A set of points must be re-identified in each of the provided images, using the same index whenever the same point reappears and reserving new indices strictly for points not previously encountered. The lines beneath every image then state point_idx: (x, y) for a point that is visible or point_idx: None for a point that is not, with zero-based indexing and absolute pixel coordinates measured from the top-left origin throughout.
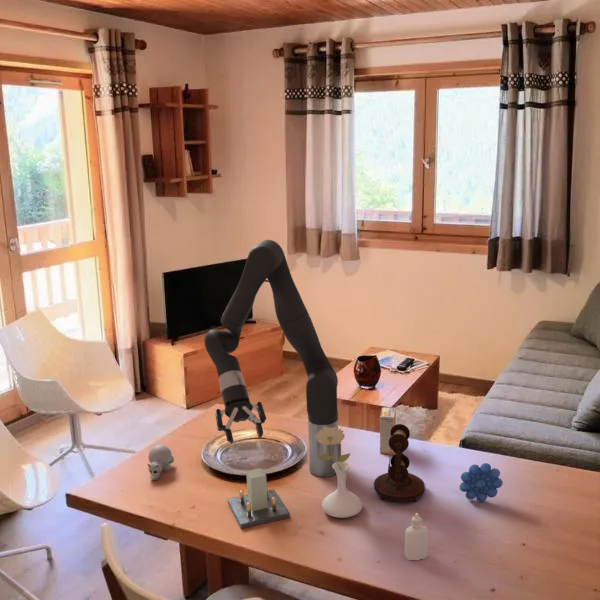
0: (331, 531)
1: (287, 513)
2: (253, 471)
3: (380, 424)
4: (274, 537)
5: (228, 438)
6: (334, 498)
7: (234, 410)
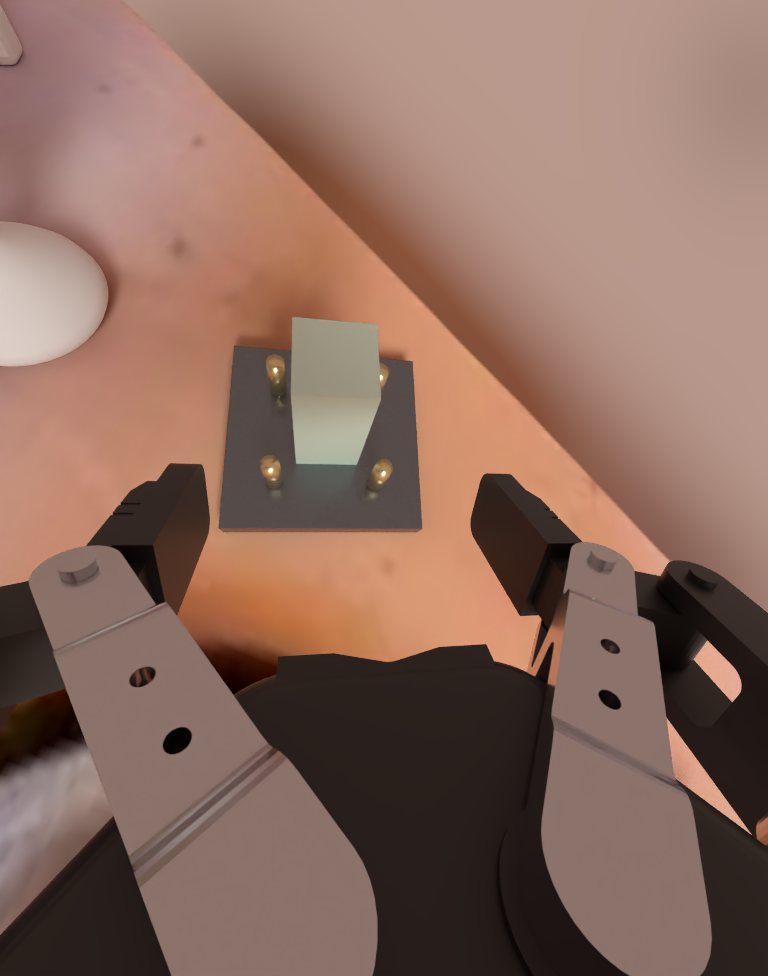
0: (146, 238)
1: (243, 348)
2: (343, 381)
3: None
4: (326, 293)
5: (535, 498)
6: (32, 251)
7: (650, 818)
